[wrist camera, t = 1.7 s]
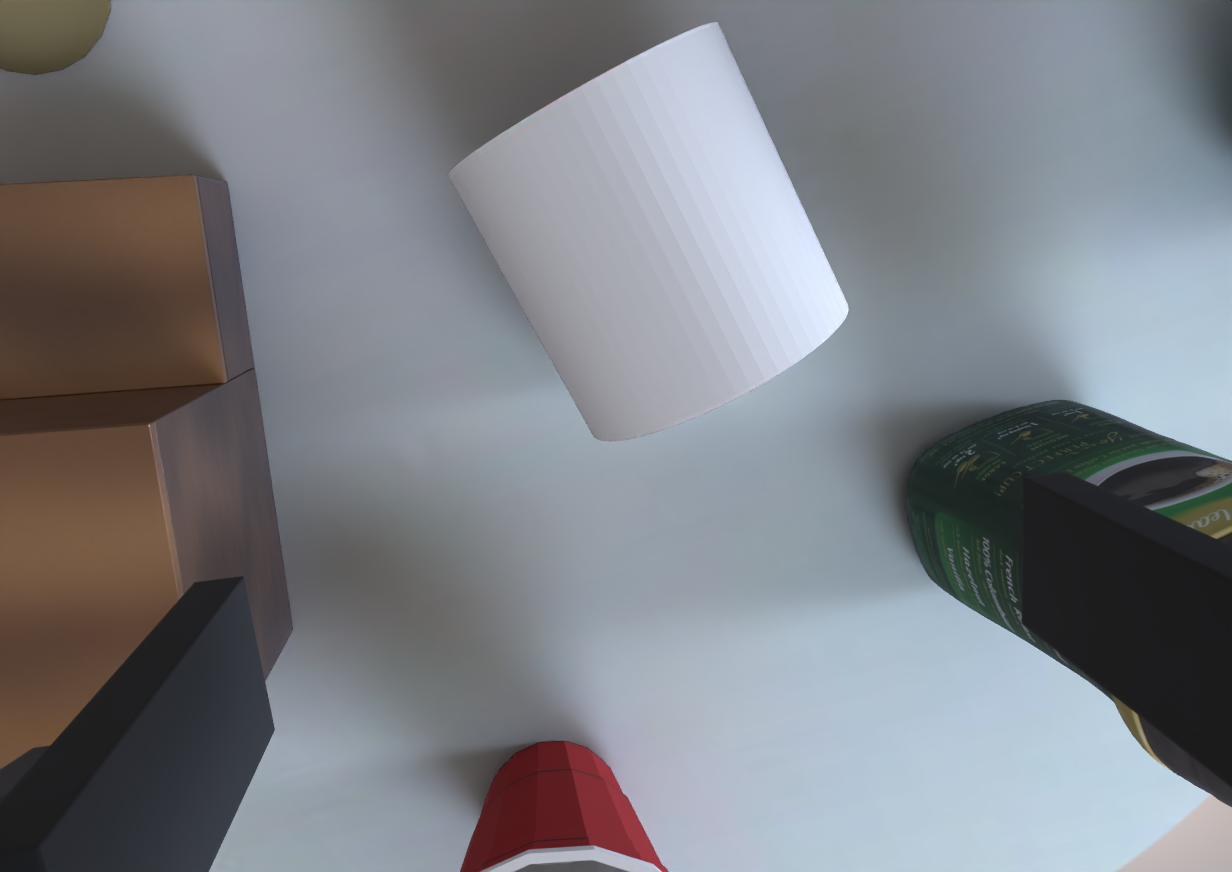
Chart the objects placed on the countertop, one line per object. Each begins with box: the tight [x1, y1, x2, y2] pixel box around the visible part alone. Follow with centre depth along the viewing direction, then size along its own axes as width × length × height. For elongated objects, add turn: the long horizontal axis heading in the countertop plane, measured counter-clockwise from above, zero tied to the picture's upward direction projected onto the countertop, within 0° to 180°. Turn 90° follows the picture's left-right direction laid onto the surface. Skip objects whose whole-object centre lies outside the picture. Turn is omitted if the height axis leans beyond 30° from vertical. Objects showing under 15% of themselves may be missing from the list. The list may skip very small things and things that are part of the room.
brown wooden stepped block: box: [0, 175, 293, 769], centre depth 29 cm, size 18×12×15 cm, turn 3°
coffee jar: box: [906, 400, 1232, 807], centre depth 32 cm, size 10×8×19 cm
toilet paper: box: [448, 22, 849, 441], centre depth 32 cm, size 10×10×10 cm
